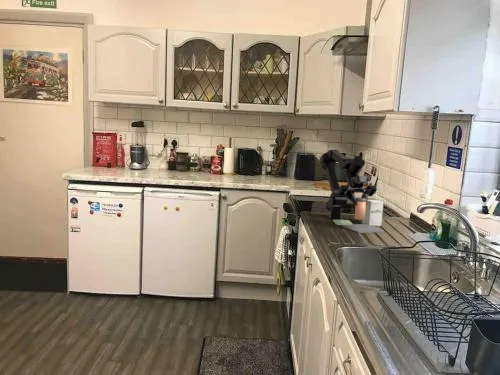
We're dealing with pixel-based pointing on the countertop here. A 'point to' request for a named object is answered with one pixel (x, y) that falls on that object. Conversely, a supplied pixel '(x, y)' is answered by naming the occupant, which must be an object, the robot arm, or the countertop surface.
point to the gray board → (363, 228)
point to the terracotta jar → (360, 208)
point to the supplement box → (373, 213)
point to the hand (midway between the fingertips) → (361, 204)
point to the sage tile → (342, 222)
